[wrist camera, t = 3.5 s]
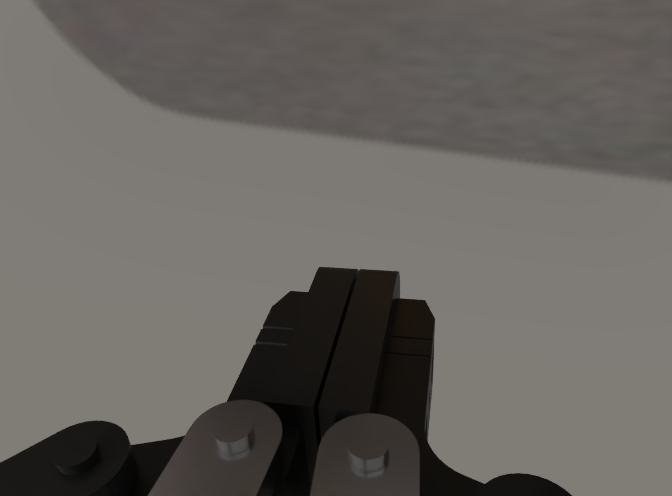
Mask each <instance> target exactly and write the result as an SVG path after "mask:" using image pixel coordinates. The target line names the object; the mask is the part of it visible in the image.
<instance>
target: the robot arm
mask: <svg viewBox="0 0 672 496" xmlns="http://www.w3.org/2000/svg"><path fill="white" fill-rule="evenodd" d="M434 329H435V318H434V316H433V314H432V312H431V311H430V309H429V307H428V305H427V303H426V301H425V300H414V299H400V276H399V272H397V271H382V270H365V269H360V270H358V269H346V268H345V269H344V268H330V267H319V268H318V270H317V272H316V275H315V277H314V280H313V282H312V285H311V287H310V290H309V292H297V291H290V292H289V293H288V294H286V295H285V296H284V297H283V298H282V299H281V300H279V301H278V302H277V303H276V304H275V305H273V306H272V308H271V310H270V312H269V314H268V316H267V319H266V321H265V323H264V325H263V329H261V331H260V333H259V335H258V337H257V339H256V345H254V346H253V348H252V350H251V352H250V354H249V356H248V358H247V360H246V362H245V364H244V367H243V369H242V371H241V373H240V375H239V377H238V379H237V381H236V383H235V386H234V388H233V390H232V392H231V394H230V396H229V398H228V400H227V402H225V403H221V404H219V405H217V406H214V407H212V408H211V409H209V410H207V411H206V412H204V413H203V414H202V415H200V416H199V418H197V419H196V421H195V422H194V423H193V424H192V426H191V427H190V429H189V430H188V432H187V433H186V435H185V436H182V437H178V438H174V439H168V440H162V441H155V442H149V443H143V444H136V445H130V442H129V439H128V436H127V434H126V433H125V431H124V430H123V429H122V428H121V427H119V426H118V425H116V424H113V423H111V422H106V421H88V422H83V423H79V424H76V425H73V426H70V427H68V428H66V429H63V430H61V431H59V432H57V433H56V434H54V435H52V436H50V437H48V438H46V439H44V440H42V441H41V442H39V443H37V444H35V445H33V446H31V447H29V448H28V449H26V450H24V451H22V452H20V453H18V454H16V455H14V456H12V457H11V458H9V459H7V460H5V461H3V462H1V463H0V496H572V495H571V494H569V493H568V492H567V491H566V490H565V489H563V488H561V487H560V486H559V485H557V484H555V483H553V482H551V481H549V480H547V479H544V478H541V477H539V476H534V475H530V474H520V473H516V474H507V475H502V476H499V477H496V478H494V479H492V480H490V481H489V482H487V483H486V484H483V483H481V482H478V481H476V480H474V479H471V478H469V477H467V476H464V475H462V474H460V473H458V472H456V471H454V470H453V469H451V468H450V467H448V466H447V465H445V464H444V463H443V462H442V461H441V460H440V459H439V458H438V457H437V456H436V455H435V454H434V452H433V451H432V449H431V447H430V446H429V444H428V429H429V418H430V406H431V395H432V383H433V359H434Z"/></svg>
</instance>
